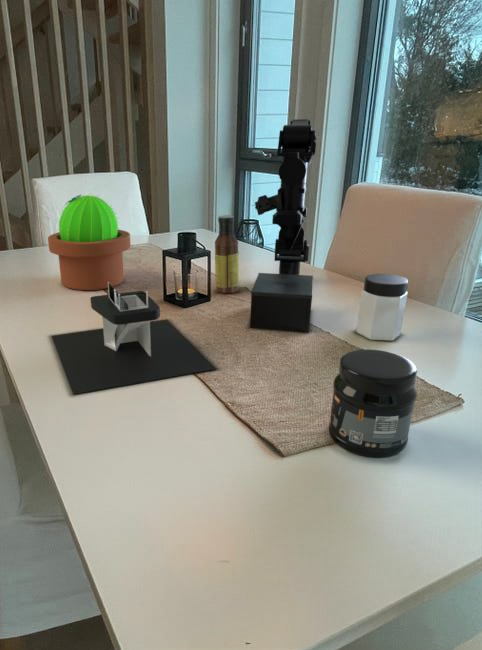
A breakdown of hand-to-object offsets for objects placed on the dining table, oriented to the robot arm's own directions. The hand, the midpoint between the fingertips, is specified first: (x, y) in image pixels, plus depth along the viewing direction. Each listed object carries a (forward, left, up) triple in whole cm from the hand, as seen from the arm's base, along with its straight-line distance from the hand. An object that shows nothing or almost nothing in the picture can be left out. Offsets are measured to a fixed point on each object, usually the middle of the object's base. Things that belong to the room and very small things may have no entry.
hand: (288, 250), depth 124 cm
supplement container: (+53, +33, -13) cm, 64 cm away
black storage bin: (+13, +4, -13) cm, 19 cm away
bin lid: (+13, +4, -5) cm, 15 cm away
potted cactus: (+12, -54, -13) cm, 57 cm away
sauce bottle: (0, -17, -13) cm, 21 cm away
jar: (+11, +25, -13) cm, 30 cm away
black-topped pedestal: (+46, -15, -13) cm, 50 cm away
